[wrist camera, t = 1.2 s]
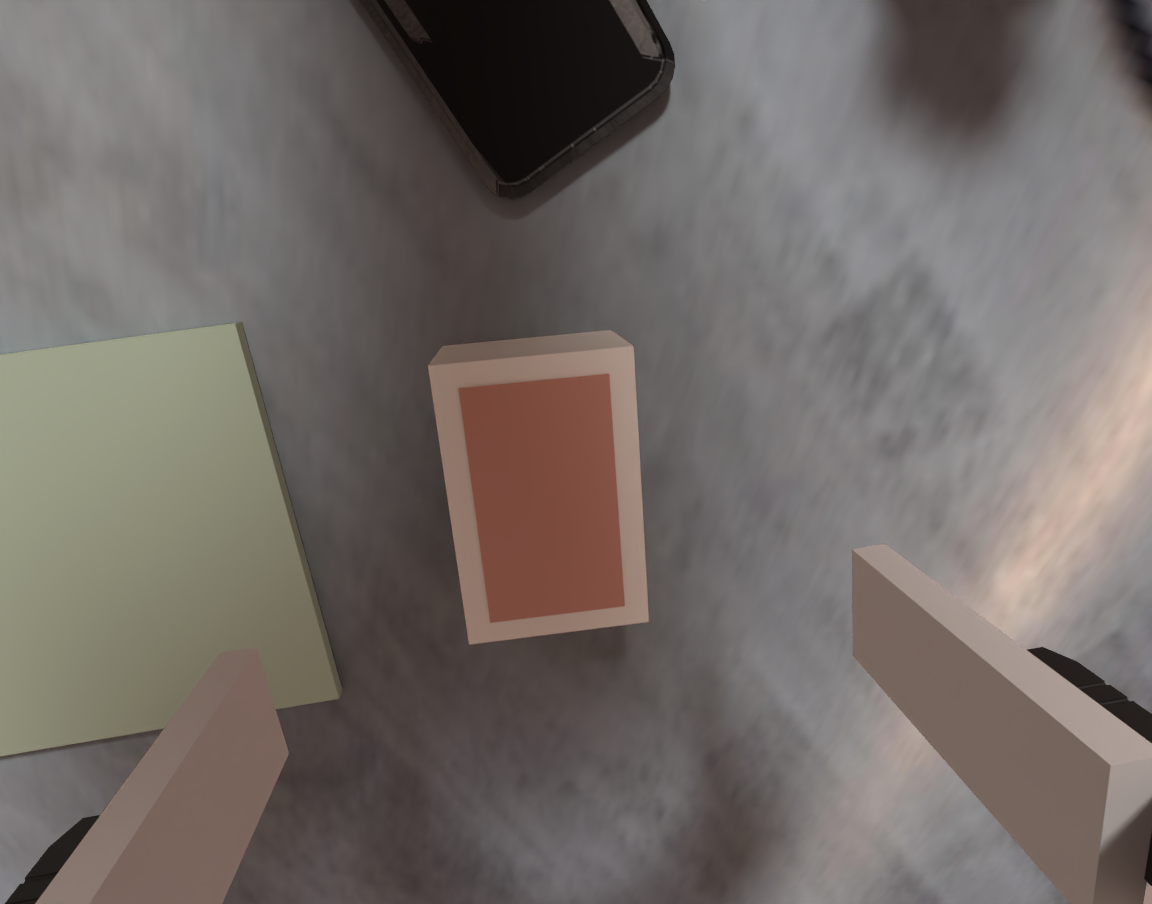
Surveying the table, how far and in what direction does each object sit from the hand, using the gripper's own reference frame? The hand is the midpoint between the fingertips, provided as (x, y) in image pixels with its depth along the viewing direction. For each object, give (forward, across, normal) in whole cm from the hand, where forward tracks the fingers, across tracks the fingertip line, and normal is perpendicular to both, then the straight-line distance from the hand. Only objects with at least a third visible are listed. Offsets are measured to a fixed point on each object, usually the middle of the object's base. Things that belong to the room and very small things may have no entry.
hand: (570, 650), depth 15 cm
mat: (+13, -21, -1) cm, 25 cm away
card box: (+13, 0, 0) cm, 13 cm away
